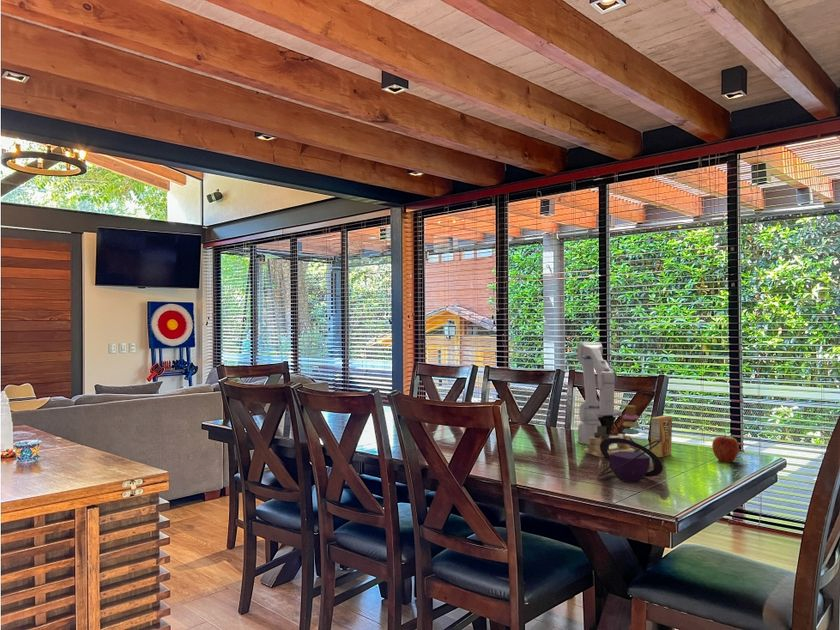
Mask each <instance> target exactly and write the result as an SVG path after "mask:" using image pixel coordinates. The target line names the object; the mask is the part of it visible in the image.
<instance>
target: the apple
mask: <svg viewBox="0 0 840 630" xmlns="http://www.w3.org/2000/svg"><path fill="white" fill-rule="evenodd" d="M711 448H712V451H713V454H714V456H715V458H716V459H717V460H718V461H720V462H723V461H724V462H723V463H733V461H735V460H736V458H737V456H738V454H739V451H740V446H739V442H738V440H737V439H736V438H734V437H733V436H727V435H726V434H724V436H723V435H722V436H721V435H718V436H716V437H715V438H714V439H713V441H712V447H711Z"/></svg>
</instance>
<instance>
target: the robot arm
mask: <svg viewBox="0 0 840 630" xmlns="http://www.w3.org/2000/svg"><path fill="white" fill-rule="evenodd" d="M603 348H604V347H603V345H602V343H601V341H597V342H589V341H587V342H586V341H585V342H582V341H579V343H578V344H577V348H576V349H577V350H576V353H577V360H578V362H579V363H581V367H582V375H583V385H584V387H583V388H584V396H585V397H584V401H582V403H580V405H579V413H578V414H579V415H578V416H579V420H580V423H579V424H578V426H577V440H576V443H579V444H583V445H587V446H588V437H594V433H596V432H597V426H600V425H601V426H606V434H608V435H609V436H610V434H611V431H612V427H613V425H614V423H615V421H616V420H617V419H616V417H617V416H618V417H623V415H622V414H623V413H622V410H617V409H616V410H615V386H616V384H617V382H618V381H617V380H618V375H617V372H616V371H615V370H613V369H611V366H610V365H609V363H608V361H606V360H605V359H604V357H603V353H604V352H603V350H604V349H603ZM595 374H596V375H597V378H596V376H595ZM596 379H597V385H598V386H597V387H598V389H599V400H598V397H597V388H596Z"/></svg>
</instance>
